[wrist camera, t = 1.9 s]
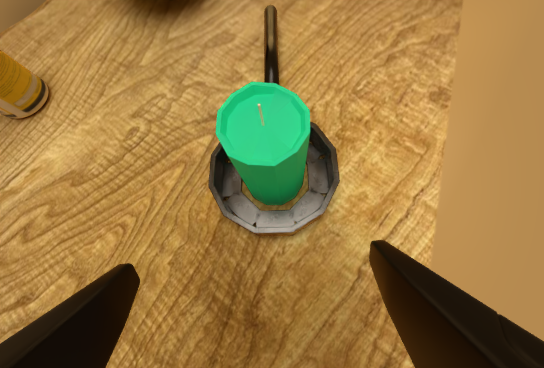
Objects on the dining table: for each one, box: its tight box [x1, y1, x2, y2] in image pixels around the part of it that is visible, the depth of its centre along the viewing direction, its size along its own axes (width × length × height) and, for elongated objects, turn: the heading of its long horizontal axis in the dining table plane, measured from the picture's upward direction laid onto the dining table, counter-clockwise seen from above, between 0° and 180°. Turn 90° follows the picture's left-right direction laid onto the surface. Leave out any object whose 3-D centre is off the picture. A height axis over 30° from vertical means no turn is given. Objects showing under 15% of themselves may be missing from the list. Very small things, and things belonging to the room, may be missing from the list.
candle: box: [216, 82, 310, 205], centre depth 18 cm, size 6×6×12 cm
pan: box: [209, 5, 340, 236], centre depth 25 cm, size 28×12×3 cm, turn 1°
